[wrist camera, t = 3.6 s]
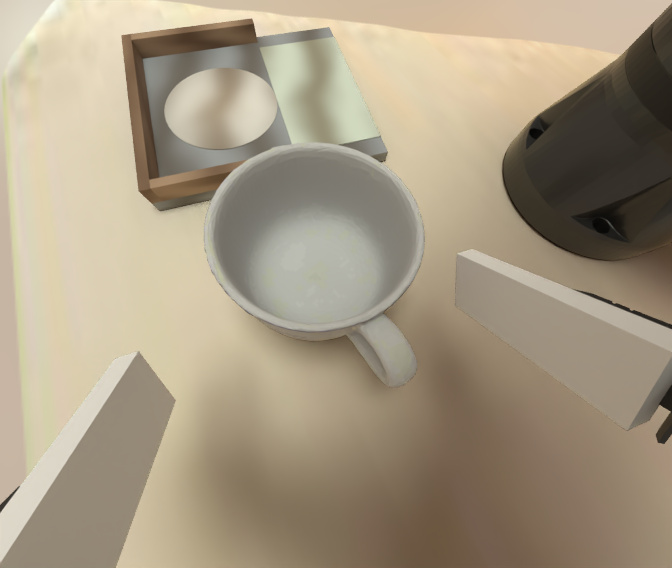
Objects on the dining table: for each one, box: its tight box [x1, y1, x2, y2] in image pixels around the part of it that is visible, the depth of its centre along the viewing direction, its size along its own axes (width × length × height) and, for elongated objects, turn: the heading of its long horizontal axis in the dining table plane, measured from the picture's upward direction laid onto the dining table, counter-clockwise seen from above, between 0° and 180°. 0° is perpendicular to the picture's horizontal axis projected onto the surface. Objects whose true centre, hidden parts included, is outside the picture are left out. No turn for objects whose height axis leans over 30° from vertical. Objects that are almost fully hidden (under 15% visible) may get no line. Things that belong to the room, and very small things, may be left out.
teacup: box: [204, 142, 425, 388], centre depth 15 cm, size 14×11×8 cm
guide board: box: [121, 19, 388, 211], centre depth 23 cm, size 20×18×2 cm
